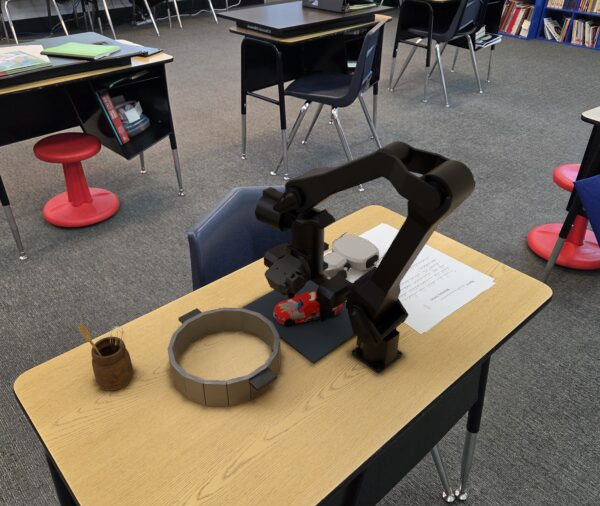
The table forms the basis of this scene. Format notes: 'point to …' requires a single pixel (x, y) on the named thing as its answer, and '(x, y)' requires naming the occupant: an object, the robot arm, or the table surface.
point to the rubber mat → (306, 326)
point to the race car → (300, 309)
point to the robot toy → (350, 255)
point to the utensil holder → (110, 361)
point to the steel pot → (215, 322)
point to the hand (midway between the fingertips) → (307, 309)
